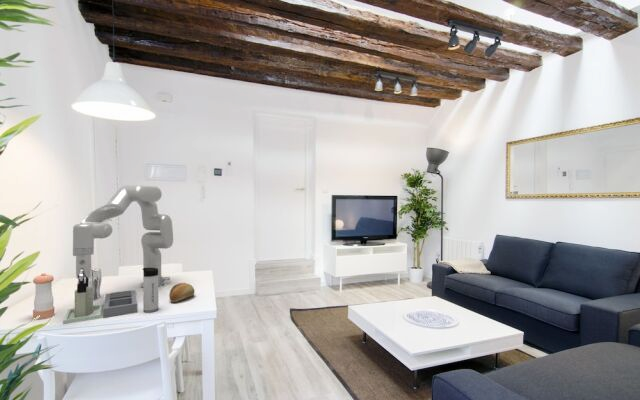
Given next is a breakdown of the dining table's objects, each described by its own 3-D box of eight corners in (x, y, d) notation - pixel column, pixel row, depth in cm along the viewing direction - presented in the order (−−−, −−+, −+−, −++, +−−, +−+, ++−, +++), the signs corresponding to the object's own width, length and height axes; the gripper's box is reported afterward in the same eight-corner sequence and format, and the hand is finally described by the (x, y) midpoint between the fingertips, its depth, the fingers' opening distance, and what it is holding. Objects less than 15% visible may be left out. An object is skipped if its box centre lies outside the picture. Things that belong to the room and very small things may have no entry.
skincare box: (83, 312, 148) (83, 286, 148) (93, 312, 148) (93, 286, 148) (74, 318, 142) (73, 290, 141) (84, 317, 142) (84, 290, 142)
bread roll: (163, 302, 162) (163, 287, 162) (183, 293, 176) (183, 279, 176) (179, 304, 160) (179, 288, 159) (198, 295, 174) (198, 280, 174)
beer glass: (104, 297, 169) (104, 269, 168) (91, 302, 162) (91, 272, 162) (95, 296, 171) (95, 268, 170) (81, 300, 164) (81, 271, 164)
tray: (102, 307, 155) (102, 304, 155) (100, 317, 142) (100, 314, 142) (68, 312, 148) (68, 309, 148) (63, 324, 135) (63, 320, 135)
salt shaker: (44, 312, 147) (43, 271, 146) (58, 313, 146) (58, 271, 146) (28, 319, 140) (27, 275, 139) (43, 320, 139) (43, 275, 139)
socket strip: (135, 297, 169) (135, 288, 169) (137, 312, 149) (137, 302, 149) (105, 301, 162) (105, 292, 162) (103, 317, 142) (103, 307, 142)
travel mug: (146, 308, 154) (146, 266, 154) (160, 307, 155) (160, 266, 155) (140, 312, 148) (140, 269, 148) (155, 312, 149) (154, 269, 148)
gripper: (92, 253, 139) (91, 293, 139) (95, 248, 153) (94, 284, 153) (70, 255, 135) (69, 296, 135) (75, 249, 149) (74, 286, 149)
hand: (82, 289), depth 144 cm, fingers open, 9 cm apart
